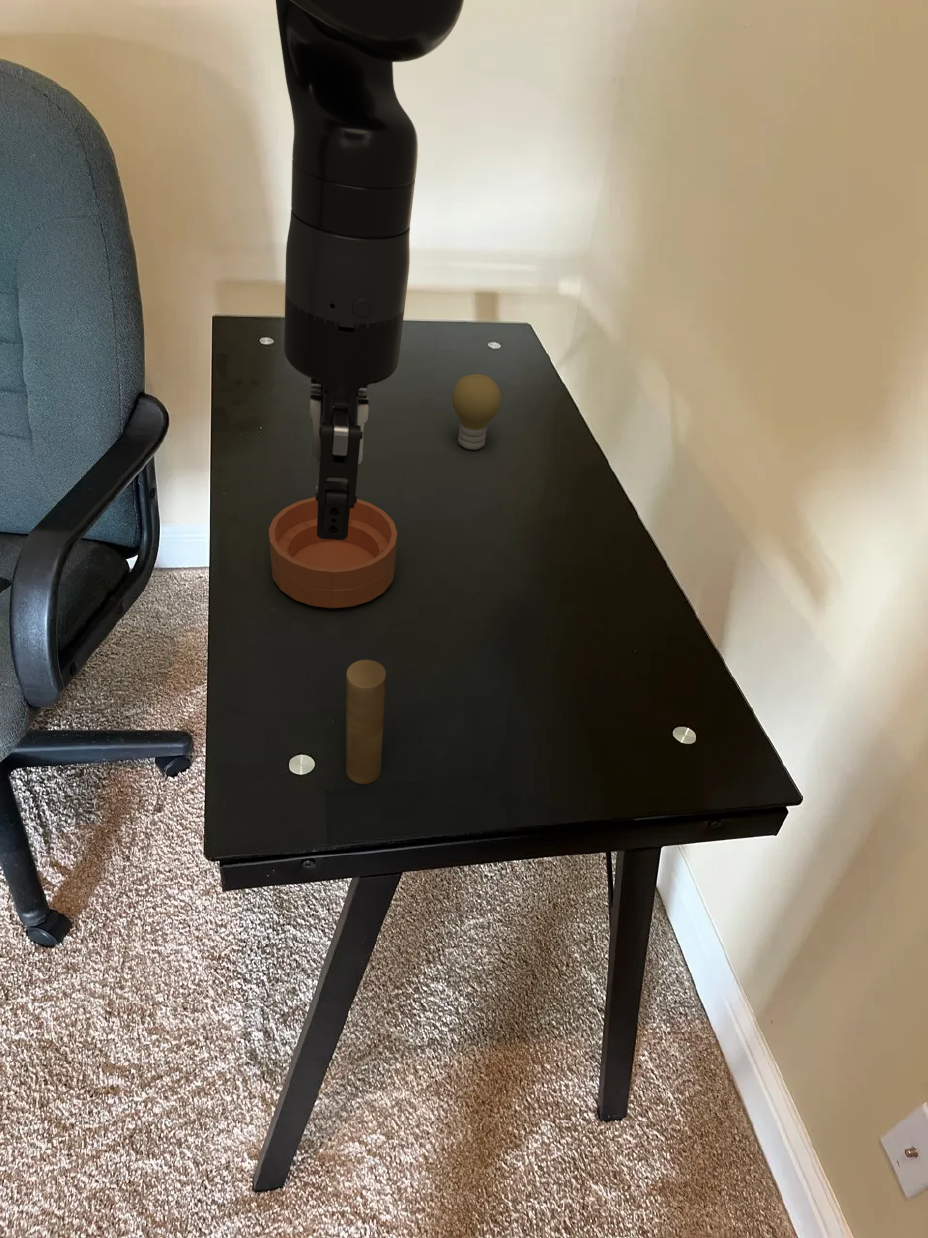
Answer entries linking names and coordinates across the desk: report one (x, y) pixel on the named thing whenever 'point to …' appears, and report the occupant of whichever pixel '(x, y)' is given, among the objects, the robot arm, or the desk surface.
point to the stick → (364, 720)
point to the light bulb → (475, 408)
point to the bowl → (332, 556)
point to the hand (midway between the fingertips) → (331, 501)
